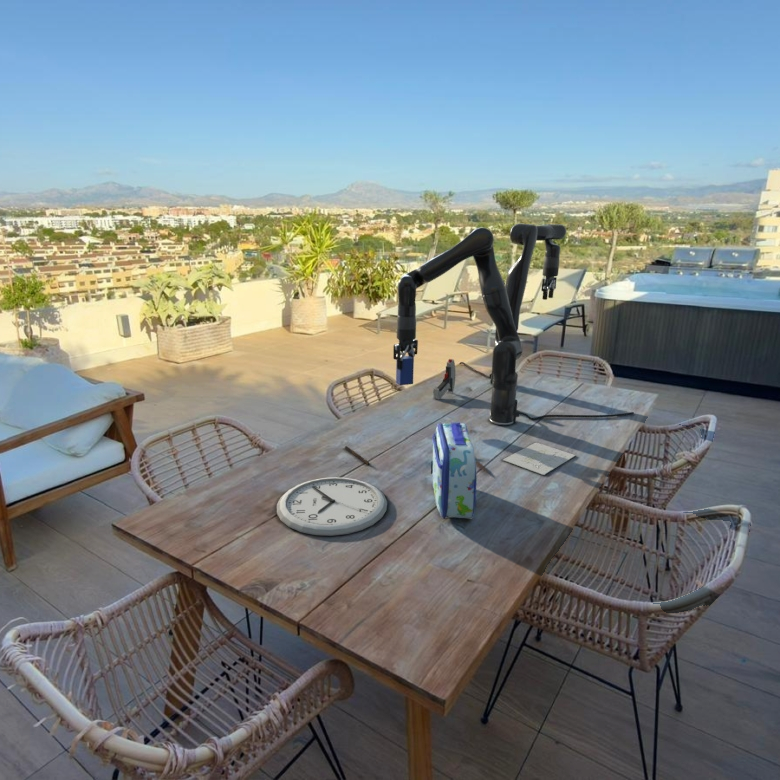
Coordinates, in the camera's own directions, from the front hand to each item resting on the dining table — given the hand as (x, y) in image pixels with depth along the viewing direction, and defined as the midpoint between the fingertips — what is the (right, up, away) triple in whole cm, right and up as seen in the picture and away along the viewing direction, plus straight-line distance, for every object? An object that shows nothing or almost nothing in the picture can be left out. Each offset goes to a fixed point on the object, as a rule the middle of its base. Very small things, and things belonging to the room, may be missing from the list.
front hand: (405, 367), depth 210 cm
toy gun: (+18, -12, +28) cm, 35 cm away
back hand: (+74, +38, +57) cm, 101 cm away
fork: (+22, -33, -41) cm, 57 cm away
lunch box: (+11, -40, -64) cm, 76 cm away
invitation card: (+44, -32, -36) cm, 65 cm away
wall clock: (-22, -41, -67) cm, 81 cm away
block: (0, -6, +2) cm, 7 cm away
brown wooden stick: (-17, -31, -37) cm, 51 cm away
